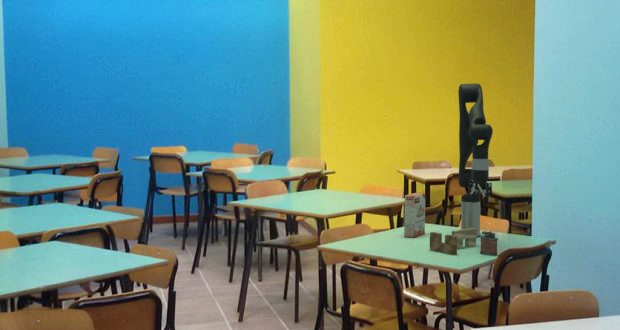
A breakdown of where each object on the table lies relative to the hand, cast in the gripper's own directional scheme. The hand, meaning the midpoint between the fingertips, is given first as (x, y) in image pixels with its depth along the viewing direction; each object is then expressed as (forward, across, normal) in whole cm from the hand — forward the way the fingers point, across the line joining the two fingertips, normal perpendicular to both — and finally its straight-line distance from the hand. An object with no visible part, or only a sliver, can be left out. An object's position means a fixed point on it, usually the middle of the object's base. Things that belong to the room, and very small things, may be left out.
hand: (479, 203), depth 344 cm
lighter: (+20, +15, -7) cm, 26 cm away
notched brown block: (+20, +2, -21) cm, 29 cm away
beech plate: (+20, -4, -6) cm, 21 cm away
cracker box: (+21, -39, -9) cm, 45 cm away
